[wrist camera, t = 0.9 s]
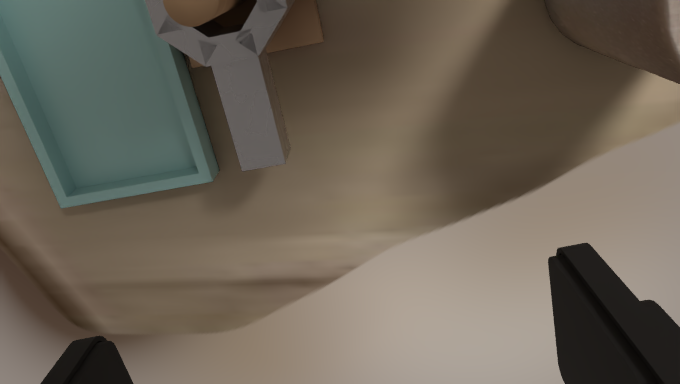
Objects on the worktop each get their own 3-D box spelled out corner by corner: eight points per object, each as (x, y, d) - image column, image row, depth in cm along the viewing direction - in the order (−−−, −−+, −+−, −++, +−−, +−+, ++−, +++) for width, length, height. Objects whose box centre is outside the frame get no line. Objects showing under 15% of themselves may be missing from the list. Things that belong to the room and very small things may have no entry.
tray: (-54, -95, 30) (-79, -97, 28) (123, -138, 29) (108, -143, 27) (74, 196, 37) (60, 208, 35) (219, 170, 36) (212, 181, 34)
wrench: (149, -67, 27) (122, -69, 24) (273, -96, 26) (262, -101, 23) (219, 157, 32) (204, 181, 29) (325, 138, 31) (321, 160, 28)
